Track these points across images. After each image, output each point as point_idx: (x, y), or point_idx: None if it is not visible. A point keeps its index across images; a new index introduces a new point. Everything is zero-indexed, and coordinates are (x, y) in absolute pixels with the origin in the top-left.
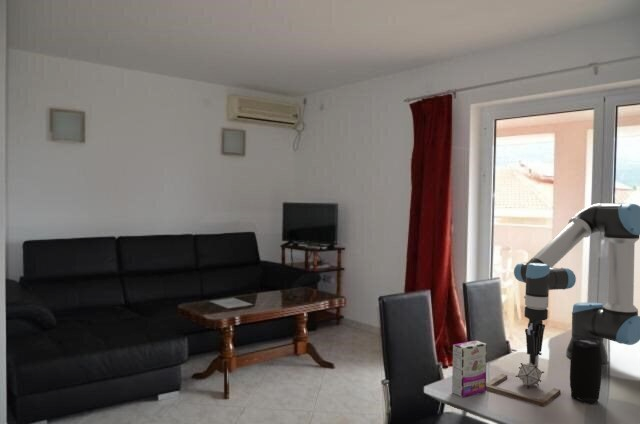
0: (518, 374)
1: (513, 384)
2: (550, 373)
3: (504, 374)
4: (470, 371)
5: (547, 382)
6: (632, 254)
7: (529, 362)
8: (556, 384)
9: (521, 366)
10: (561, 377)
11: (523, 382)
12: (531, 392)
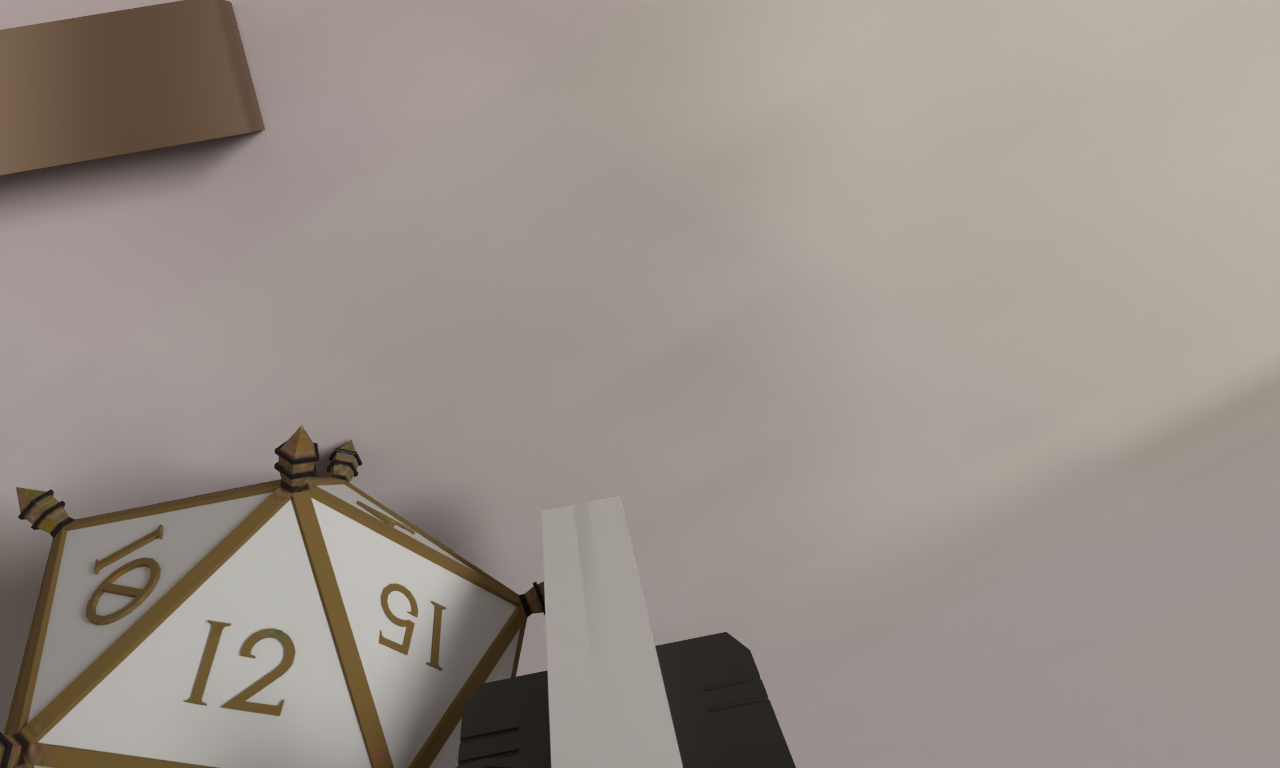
0: (50, 561)
1: (94, 394)
2: (1265, 427)
3: (222, 64)
4: None
5: (771, 639)
6: None
7: (547, 635)
8: (805, 753)
9: (17, 710)
10: (1200, 624)
11: (335, 464)
12: None
